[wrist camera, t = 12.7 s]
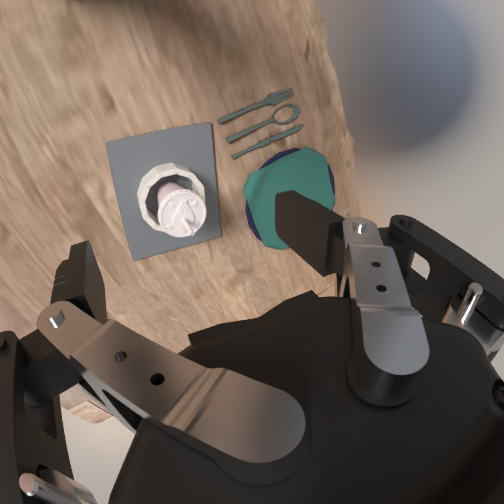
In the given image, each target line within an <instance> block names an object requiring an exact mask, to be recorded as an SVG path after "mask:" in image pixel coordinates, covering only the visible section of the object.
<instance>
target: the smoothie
mask: <svg viewBox="0 0 504 504" xmlns="http://www.w3.org/2000/svg"><path fill="white" fill-rule="evenodd" d="M157 198H158V205H159V209H158V221H159V223H160V225H161V227H162V228H163V230H164V231H165V232H166V233H168V234H169V235H171V236H174V237H187V236H190V235H191V236H194V235H195V232H197V231H198V230H199V229H200V228H201V227H202V225H203V223H204V221H205V219H206V214H207V211H206V205H205V203H204V201H203V199H202V198H201V197H200V195H198V194H197V193H196V192H194V191H191V190H187V189H184V188H183V187H181V186H179V185H178V184H176V183H174V182H171V181H168V182H165V183H163V184H161V185H160V187H159V188H158V190H157Z"/></svg>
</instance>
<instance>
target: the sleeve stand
mask: <svg viewBox="0 0 504 504" xmlns="http://www.w3.org/2000/svg"><path fill="white" fill-rule="evenodd" d="M106 146H107V152H108V157H109V163H110V168H111V173H112V178H113V183H114V187H115V192H116V196H117V201H118V205H119V209H120V213H121V217H122V221H123V225H124V229H125V233H126V237H127V240H128V244H129V248H130V251H131V255H132V258H133V261H135V260H138V259H142V258H145V257H149V256H152V255H156V254H160V253H163V252H167V251H170V250H174V249H177V248H181V247H185V246H188V245H192V244H196V243H199V242H203V241H207V240H210V239H214V238H218V237H221V227H220V218H219V208H218V198H217V187H216V177H215V166H214V154H213V142H212V130H211V122H208V123H201V124H194V125H188V126H182V127H176V128H170V129H165V130H160V131H155V132H150V133H145V134H141V135H136V136H132V137H127V138H123V139H119V140H115V141H111V142H107V143H106ZM168 181H171V182H174V183H176V184H178V185H179V186H181V187H183V188H184V189H187V190H191V191H194V192H196V193H197V194H198V195H200V197H201V198H202V199H203V201H204V203H205V205H206V211H207V214H206V219H205V221H204V223H203V225H202V227H201V228H200V229H199V230H198V231H197V232H195V235H194V236H191V235H190V236H187V237H174V236H171V235H169V234H168V233H166V232H165V231H164V230H163V228H162V227H161V225H160V223H159V221H158V209H159V205H158V198H157V190H158V188H159V187H160V185H161V184H163V183H165V182H168Z"/></svg>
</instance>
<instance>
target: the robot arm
mask: <svg viewBox="0 0 504 504" xmlns="http://www.w3.org/2000/svg"><path fill="white" fill-rule="evenodd" d="M275 229H276V233H277V235H278V237H279V238H280V239H281V240H282V241H283V242H284V243H285V244H287V245H288V246H289V247H290V248H291V249H292V250H293V251H295V252H296V253H297V254H298V255H299V256H300V257H301V258H303V259H304V260H305V261H306V262H307V263H308V264H309V265H310V266H312V267H313V268H314V269H315V270H316V271H317V272H318V273H319V274H321V275H322V276H323V277H325V276H327V275H330V274H332V273H336V276H335V297H320V298H319V297H318V296H317V295H316V294H315V293H314V292H313V291H312V290H311V291H308V292H305V293H303V294H300V295H298V296H295V297H293V298H290V299H287V300H285V301H283V302H282V303H280V304H279V305H277V306H276V307H274V308H273V309H271V310H270V311H268V312H266V313H265V314H263V315H262V316H260V317H258V318H254V319H248V320H241V321H235V322H228V323H221V324H218V325H215V326H212V327H209V328H206V329H203V330H200V331H197V332H194V333H191V334H188V337H189V341H190V344H191V345H190V346H188V347H187V348H185V349H184V350H182V351H181V352H180V353H178V354H176V353H174V352H172V351H170V350H168V349H166V348H164V347H162V346H160V345H158V344H157V343H155V342H153V341H151V340H149V339H147V338H145V337H143V336H142V335H140V334H138V333H136V332H134V331H133V330H131V329H129V328H127V327H126V326H124V325H122V324H120V323H119V322H117V321H115V320H113V319H108V320H107V312H106V299H105V287H104V282H103V278H102V275H101V272H100V270H99V267H98V264H97V261H96V258H95V256H94V253H93V250H92V247H91V244H90V242H89V241H88V240H87V241H84V242H81V243H78V244H74V245H71V249H70V255H69V259H67V260H64V261H62V263H61V264H60V265H59V267H58V268H57V270H56V275H55V280H54V286H53V291H52V297H51V303H50V305H49V306H47V307H46V308H45V309H44V310H43V311H42V312H41V313H40V315H39V316H38V319H37V328H38V329H36V330H35V331H33V332H32V333H30V334H28V335H27V336H25V337H23V338H21V339H20V340H19V339H18V337H17V336H16V334H15V333H14V332H12V331H3V332H1V333H0V504H97V502H96V500H95V498H94V496H93V495H92V493H91V492H90V491H89V490H88V489H87V488H86V487H85V486H83V485H81V484H79V483H78V482H76V481H74V478H73V474H72V469H71V465H70V460H69V456H68V451H67V446H66V440H65V434H64V429H63V422H62V414H61V406H60V397H59V394H61V393H62V392H64V391H66V390H68V389H69V388H71V387H73V386H74V385H76V384H77V385H78V386H79V387H81V388H82V389H83V390H84V391H85V392H86V393H87V394H88V395H90V396H91V397H92V398H93V399H94V400H95V401H97V402H98V403H99V404H100V405H101V406H103V407H104V408H105V409H106V410H107V411H109V412H110V413H111V414H112V415H113V416H115V417H116V418H117V419H118V420H119V421H120V422H121V423H122V424H123V425H124V426H126V427H127V428H128V429H129V430H131V431H132V432H133V433H135V436H134V439H133V441H132V443H131V446H130V448H129V451H128V453H127V455H126V458H125V460H124V462H123V465H122V467H121V469H120V472H119V474H118V477H117V479H116V482H115V484H114V486H113V489H112V491H111V494H110V498H109V503H108V504H504V381H503V380H502V379H501V378H500V376H499V375H498V374H497V372H496V371H495V369H494V367H493V366H492V364H491V361H492V360H493V358H494V357H495V356H496V354H497V352H498V351H499V350H500V348H501V347H502V345H503V344H504V279H503V278H502V277H500V276H499V275H498V274H496V273H495V272H494V271H492V270H491V269H490V268H488V267H487V266H486V265H484V264H483V263H482V262H480V261H479V260H477V259H476V258H474V257H473V256H472V255H470V254H469V253H467V252H466V251H464V250H463V249H461V248H460V247H459V246H457V245H455V244H454V243H452V242H451V241H449V240H448V239H446V238H445V237H443V236H442V235H440V234H439V233H437V232H436V231H434V230H432V229H430V228H429V227H427V226H426V225H424V224H423V223H421V222H419V221H418V220H416V219H414V218H412V217H409V216H406V215H395V216H392V217H391V219H390V224H389V227H386V228H377V225H376V224H375V223H374V222H372V221H370V220H367V219H365V218H360V217H351V218H347V219H345V218H343V217H342V216H340V215H338V214H337V213H335V212H333V211H332V210H329V209H328V208H327V207H325V206H323V205H322V204H320V203H318V202H316V201H314V200H311V199H308V198H307V197H305V196H303V195H301V194H300V193H298V192H296V191H294V190H289V191H284V192H279V193H277V194H276V195H275ZM415 252H416V253H417V254H419V255H420V256H421V257H423V258H424V259H425V260H427V262H428V263H429V266H430V273H429V276H428V278H427V280H426V279H425V278H423V277H422V276H421V275H420V274H418V273H417V272H416V271H415V270H413V269H412V268H411V265H412V261H413V258H414V254H415ZM412 307H413V308H414V309H413V308H412ZM420 314H421V315H422V316H423V317H424V318H423V317H421V316H420Z"/></svg>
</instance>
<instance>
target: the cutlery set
mask: <svg viewBox="0 0 504 504" xmlns="http://www.w3.org/2000/svg"><path fill="white" fill-rule="evenodd" d="M289 90H292V88H290V89H287V90H283V91H279V92H276V93H272V94H269V95H268V96H267V99H264V101H261V102H258V103H256V104H253V105H250V106H248V107H246V108H243V109H241V110H238V111H236V112H234V113H231V114H229V115H227V116H225V117H222V118H220V119H218V122H219V123H222V122H224V121H226V120H229V119H231V118H233V117H235V116H238V115H240V114H242V113H245V112H247V111H249V110H252V109H254V108H257V107H260V106H262V105H268V104H270V105H272V106H273V105H275V104H277V103H279V102H281V101H283V100H285V99H287V98H289V97H292V96H294V95H290V96H286V95H288V94H291V93H293V91H292V92H288V93H285V92H287V91H289ZM282 93H285V94H282ZM280 94H281V95H280ZM284 96H286V97H284ZM282 97H283V98H282ZM287 106H288V107H291V108H293V111H294V114H293V115H292V117H291V118H290V119H289V120H287V121H285V122H278V121H276V120H275V118H274V115H275V113H276V111H277V110H278V109H277V110H276V111H275V113H274V114H273V116H272V117H271V118H270V119H269V120H267V121H264V122H262V123H260V124H257V125H255V126H253V127H250V128H248V129H245V130H243V131H241V132H238V133H236V134H234V135H231V136H229V137H227V138H226V141H227V142H228V143H229V142H230V141H233V140H235V139H237V138H239V137H241V136H243V135H245V134H247V133H249V132H251V131H253V130H255V129H257V128H259V127H261V126H263V125H265V124H267V123H269V122H274V123H277V124H280V125H281V124H286V123H289V122H291V121H292V120H294V119H295V118H296V117H297V116H298V114H299V112H300V111H299V107H298V106H295V105H292V104H290V105H284V106H282V107H287ZM280 108H281V107H280ZM280 108H279V109H280ZM302 126H303V124H300V125H298V126H296V127H293V128H291V129H289V130H286V131H284V132H282V133H279V134H277V135H275V136H273V137H270V138H267V137H266V139H265V140H260V141H259V142H258V143H257V144H256V145H254V146H252V147H249V148H248V149H246V150H244V151H242V152H239V153H237V154H235V155H231V156H232V159H234V158H236V157H237V156H239V155H241V154H243V153H245V152H248V151H250V150H253V149H255V148H257V147H262V146H265V145H266V144H267V143H269V144H270V141H274V140H277V139H280V138H283V137H285V136H288V135H290V134H292V133H294V132H296V131H298V130H300V129H301V128H302ZM289 190H294V191H296V192H298V193H300V194H301V195H303V196H305V197H307V198H308V199H311V200H314V201H316V202H318V203H320V204H322V205H323V206H325V207H327V208H328V209H329V210H332V209H333V207H334V204H335V198H334V193H335V189H334V177H333V175H332V172H331V169H330V166H329V165H328V164H327V161H326V158H325V156H323V155H322V154H320V153H317V152H316V151H314V150H312V149H310V148H309V147H305V148H303V149H299V148H293V149H290V150H286V151H282V152H279V153H278V154H276V155H275V156H273V157H272V158H270V159H269V160H268V161H266V162H265V163H264V164H263V166H262V167H261V168H260V169H259V170H258V171H255V172H253V173H251V174H250V175H249V176H248V179H247V182H246V184H245V186H244V190H243V191H244V195H245V197H246V209H245V210H246V215H247V220H248V224H249V226H250V228H251V230H252V231H253V233H254V234H255V236H256V238H258V239H259V240H261V241H262V242H263V244H264V246H267V247H271V248H275V249H280V250H284V249H286V248H288V247H289V246H288V245H287V244H285V243H284V242H283V241H282V240H281V239H280V238H279V237H278V235H277V233H276V229H275V195H276V194H277V193H279V192H284V191H289Z"/></svg>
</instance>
